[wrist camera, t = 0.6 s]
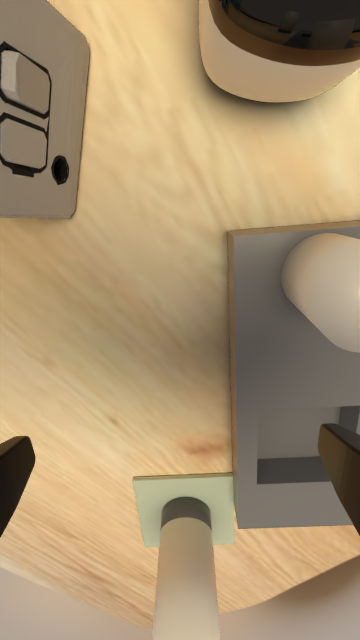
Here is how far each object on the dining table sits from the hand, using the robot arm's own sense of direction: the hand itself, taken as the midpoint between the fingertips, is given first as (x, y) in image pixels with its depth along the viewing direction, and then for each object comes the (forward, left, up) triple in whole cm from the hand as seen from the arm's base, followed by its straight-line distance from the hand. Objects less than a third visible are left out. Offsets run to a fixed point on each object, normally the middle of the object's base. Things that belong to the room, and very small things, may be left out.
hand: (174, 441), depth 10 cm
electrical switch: (-8, +11, -14) cm, 19 cm away
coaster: (-1, -21, -13) cm, 25 cm away
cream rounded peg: (-1, -21, -13) cm, 24 cm away
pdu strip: (+8, -7, -13) cm, 17 cm away
